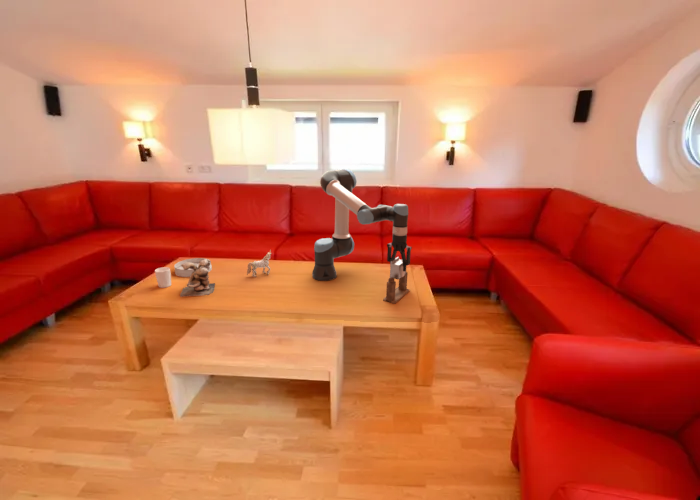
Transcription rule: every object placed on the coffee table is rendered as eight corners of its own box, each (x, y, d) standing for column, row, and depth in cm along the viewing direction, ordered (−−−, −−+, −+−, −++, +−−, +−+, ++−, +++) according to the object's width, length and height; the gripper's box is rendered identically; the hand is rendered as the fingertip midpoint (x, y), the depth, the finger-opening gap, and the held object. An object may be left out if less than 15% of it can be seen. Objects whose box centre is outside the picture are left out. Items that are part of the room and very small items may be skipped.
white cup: (167, 281, 215) (164, 266, 212) (175, 284, 211) (172, 268, 208) (154, 286, 209) (151, 270, 206) (162, 289, 205) (160, 273, 202)
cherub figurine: (178, 298, 194) (173, 267, 189) (184, 285, 211) (180, 256, 205) (213, 294, 199) (209, 264, 193) (216, 282, 215) (212, 254, 210)
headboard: (383, 300, 193) (384, 277, 189) (398, 288, 208) (399, 266, 204) (395, 303, 189) (396, 279, 185) (409, 290, 205) (410, 268, 200)
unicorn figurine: (278, 271, 232) (277, 252, 228) (252, 280, 218) (251, 259, 214) (272, 268, 236) (270, 249, 232) (246, 277, 223) (244, 256, 218)
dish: (217, 271, 233) (216, 264, 231) (182, 280, 218) (181, 272, 217) (203, 262, 248) (202, 255, 246) (169, 270, 233) (168, 263, 232)
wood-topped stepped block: (389, 277, 193) (390, 261, 190) (397, 272, 200) (397, 256, 197) (398, 279, 190) (399, 263, 187) (405, 274, 197) (406, 258, 194)
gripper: (381, 233, 189) (379, 274, 196) (413, 238, 180) (410, 281, 187) (387, 230, 195) (386, 269, 202) (418, 234, 186) (416, 276, 193)
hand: (397, 275), depth 195 cm, fingers closed on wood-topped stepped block, 5 cm apart
